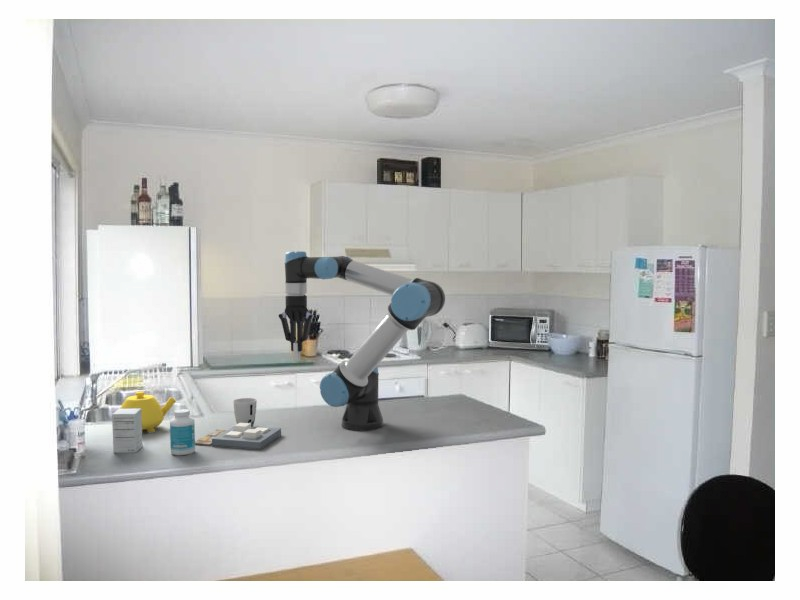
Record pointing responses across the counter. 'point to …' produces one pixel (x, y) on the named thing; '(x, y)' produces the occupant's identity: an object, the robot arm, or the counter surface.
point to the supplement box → (127, 430)
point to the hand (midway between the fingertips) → (296, 360)
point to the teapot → (148, 409)
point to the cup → (245, 410)
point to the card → (208, 438)
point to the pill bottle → (182, 433)
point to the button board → (246, 440)
